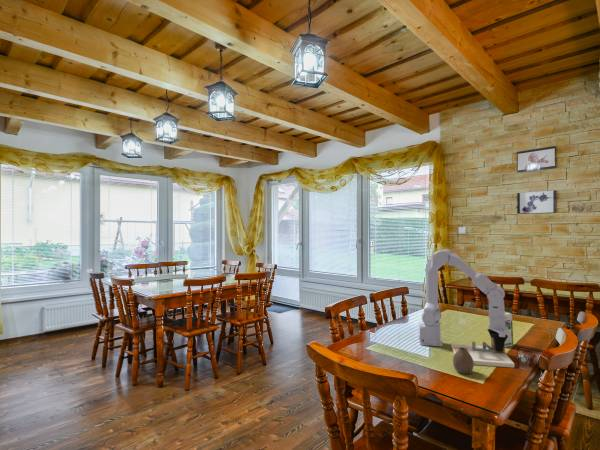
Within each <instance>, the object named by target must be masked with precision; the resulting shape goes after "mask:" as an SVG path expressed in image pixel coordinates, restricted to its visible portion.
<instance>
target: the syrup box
mask: <svg viewBox="0 0 600 450" xmlns="http://www.w3.org/2000/svg"><path fill="white" fill-rule="evenodd" d="M505 327H508V330H505V335H507V336H508V338H507V339H506V341H505V348H508V347H513V346H514V325H513V314H512V313H511V312H508V311H505Z"/></svg>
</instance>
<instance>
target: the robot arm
mask: <svg viewBox="0 0 600 450" xmlns="http://www.w3.org/2000/svg"><path fill="white" fill-rule="evenodd" d="M429 258H430V259H429V260H427V262H426V265H425V305H424V307H423V313H422V314H421V320H422V322H423V323H418V332H419V333H418V334H419V335H418V340H419V344H420V345H419V346H431V347H443V346H444V345H443V342H442V340H441V337H442V335H441V333H442V332H441V322H440V320H441V318H442V312H441V310H440V304H439V269H440V268H441V267H443V266H444V265H445V264H446V265H448V266H451V267H456V268H458V269H459V270H460V271H461V272H462V273H464V274H466V275H467V276H468V277H469V278H470V279H471V283H472V284H473V285H474V286H475V287H476V288H477V289H479V291H481V292H482V293H483V294H484V295H486V297H487V300H488V328H487V331H488V334H489V336H490V338H491V337H493V339H494V342H495V347H496V351H503V347H504V343H505V341H506V339H507V338H508V336H507V335H505V330H508V327H505V312H506V311H505V300H504V298H505V295H506V293H505V290H504V289H503V287H501V286H500V285H498V284H497V283H494V282H493V281H492V280H490V279H489V278H488V275H487V274H483V272H482V273H481V272H480V273H479V272H476V270H475V269H473V268H472V267H471V266H470V265H469V264H467V263H466V262H465V261H464V260H463V258H461V257H460V256H459V255H458V254H457V253H455V252H453V250H451V249H449V248H443V249H441V250H440V249H439V250H437V251H434V253H433V254H432V255H431V257H429Z"/></svg>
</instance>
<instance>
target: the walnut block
mask: <svg viewBox="0 0 600 450" xmlns="http://www.w3.org/2000/svg"><path fill="white" fill-rule="evenodd" d="M490 347H492V348H493V349H494V350H495V352H494V353H506V349H505V348H506V347H505V343H504V347H503V351H496V347H495V342H494V339H493V337H491V336H490Z"/></svg>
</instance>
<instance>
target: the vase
mask: <svg viewBox="0 0 600 450" xmlns="http://www.w3.org/2000/svg"><path fill="white" fill-rule="evenodd" d="M452 365H453V368H454V369H455V371H456V372H457V373H458V374H461V375H469V374H471V373H472V371H473V369H474V363H473V359H472V357H471V355H470V354H469V353H468V351H467V349H466V348H463V347H460V348H459V350H458V351H457V352H456V353H455V355H453V358H452Z"/></svg>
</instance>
